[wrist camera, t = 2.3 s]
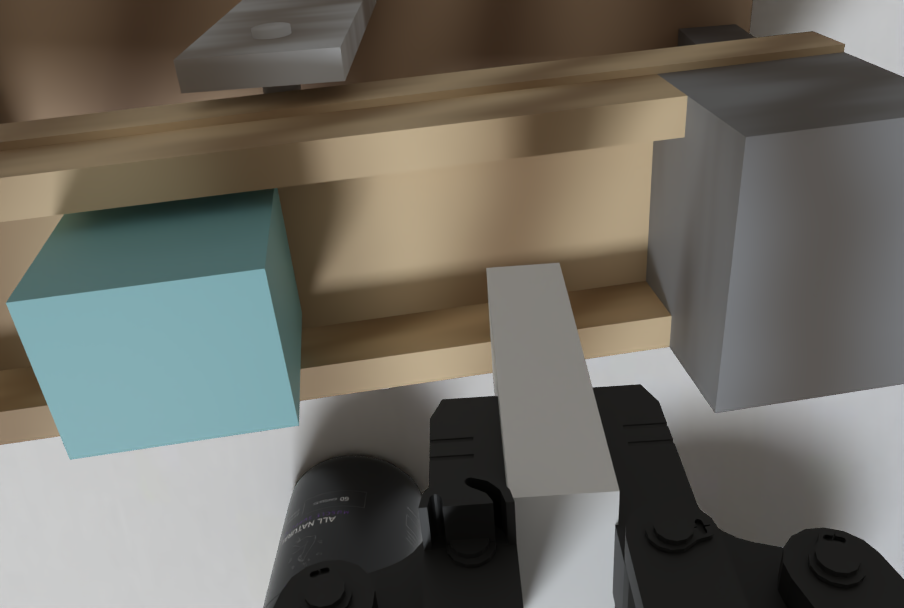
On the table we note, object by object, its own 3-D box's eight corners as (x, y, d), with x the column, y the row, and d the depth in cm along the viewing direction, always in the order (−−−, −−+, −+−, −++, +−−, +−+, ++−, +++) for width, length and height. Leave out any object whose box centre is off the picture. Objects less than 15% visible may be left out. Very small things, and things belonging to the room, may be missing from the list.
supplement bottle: (314, 432, 39) (265, 650, 29) (445, 473, 41) (444, 695, 30) (274, 528, 43) (218, 754, 32) (397, 562, 44) (381, 791, 34)
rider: (275, 177, 21) (264, 268, 16) (302, 313, 23) (299, 425, 18) (71, 202, 20) (5, 302, 16) (117, 338, 22) (70, 459, 18)
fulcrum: (752, -90, 28) (909, -44, 18) (720, 229, 34) (825, 388, 24) (-107, -19, 29) (-378, 60, 19) (12, 278, 35) (-151, 448, 25)
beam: (812, 31, 22) (980, 98, 17) (777, 268, 26) (905, 390, 20) (-319, 160, 20) (-571, 290, 14) (-178, 402, 24) (-332, 581, 18)
